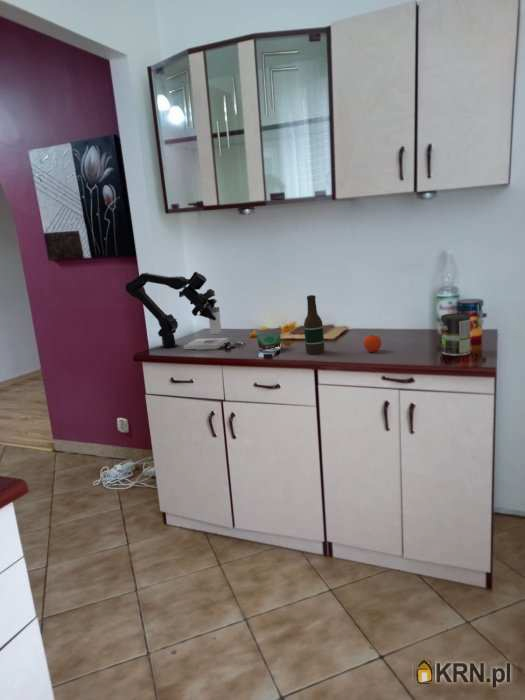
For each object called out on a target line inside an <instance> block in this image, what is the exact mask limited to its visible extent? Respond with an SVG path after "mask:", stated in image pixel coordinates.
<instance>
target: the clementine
mask: <svg viewBox="0 0 525 700" xmlns="http://www.w3.org/2000/svg"><path fill="white" fill-rule="evenodd" d="M381 346H382V338H381V335H379V334H369V335H367V336H366V337H365V338H364V340H363V347H364V348H365V350H366V351H368V352H370V353H375V352H377V351H379V350H380V349H381Z"/></svg>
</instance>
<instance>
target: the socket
mask: <svg viewBox="0 0 525 700" xmlns="http://www.w3.org/2000/svg"><path fill="white" fill-rule="evenodd" d="M226 342H228V343H229V342H230V341H229V337H221V338H219V337H217V338H215V337H214V338H212V337H211V338H196V339H194V340H192V341H190V342H189V343H186V344H184V345H183V349H197V350H218V349H219V348H221V347H223V346H224V345H225V344H224V343H226ZM223 344H224V345H223ZM226 344H227V343H226ZM222 345H223V346H222ZM220 346H221V347H220ZM217 348H218V349H217Z"/></svg>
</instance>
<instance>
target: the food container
mask: <svg viewBox="0 0 525 700" xmlns="http://www.w3.org/2000/svg"><path fill="white" fill-rule="evenodd" d="M282 332H283V330H282V327H281V326H279V327H276V328H265V329H255V331H254V335H256V340H257V344H258V349H259V351H260V352H261V351H263V350H265V349H271V348H275V347H278V346H279V347H280V348H281V333H282Z"/></svg>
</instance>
